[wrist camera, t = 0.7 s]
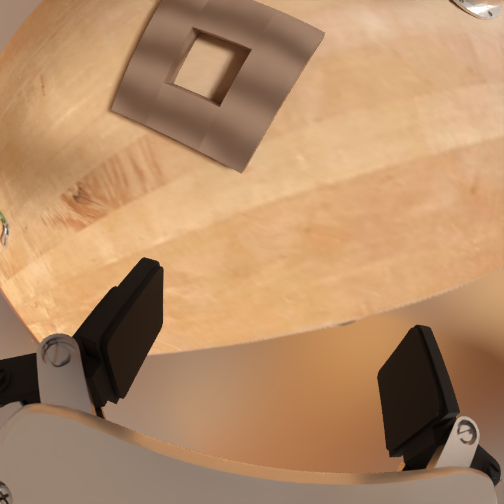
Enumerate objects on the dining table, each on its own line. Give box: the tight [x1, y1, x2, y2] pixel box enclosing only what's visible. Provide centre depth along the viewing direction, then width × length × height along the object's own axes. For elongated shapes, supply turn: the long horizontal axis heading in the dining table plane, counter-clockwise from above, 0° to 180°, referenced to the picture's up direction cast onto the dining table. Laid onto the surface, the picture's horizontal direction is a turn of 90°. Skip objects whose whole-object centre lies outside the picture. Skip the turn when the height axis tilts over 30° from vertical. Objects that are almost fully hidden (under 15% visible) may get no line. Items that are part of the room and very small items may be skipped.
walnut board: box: [111, 0, 325, 173], centre depth 29 cm, size 20×20×3 cm
